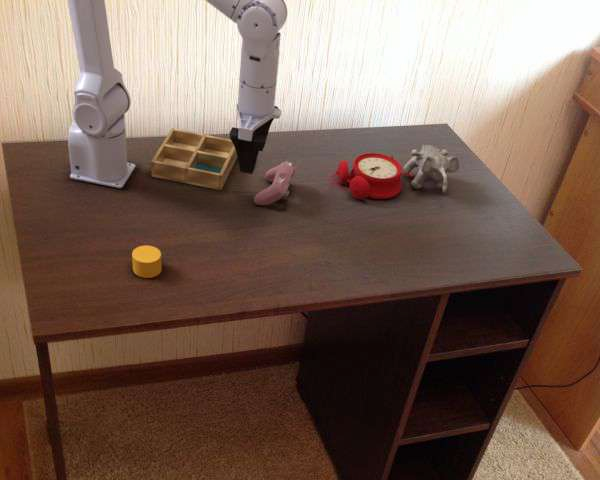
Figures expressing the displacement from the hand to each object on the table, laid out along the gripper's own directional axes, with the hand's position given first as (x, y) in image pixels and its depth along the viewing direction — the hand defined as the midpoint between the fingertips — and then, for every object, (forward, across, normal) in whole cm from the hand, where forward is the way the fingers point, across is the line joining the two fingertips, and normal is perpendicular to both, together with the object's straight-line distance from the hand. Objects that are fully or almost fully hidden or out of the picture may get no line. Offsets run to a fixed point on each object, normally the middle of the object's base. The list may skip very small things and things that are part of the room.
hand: (251, 160), depth 125 cm
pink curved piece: (+10, +7, -4) cm, 13 cm away
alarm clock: (+10, +16, -19) cm, 27 cm away
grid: (+10, +11, +12) cm, 19 cm away
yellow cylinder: (+10, -21, +11) cm, 26 cm away
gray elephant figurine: (+10, +20, -31) cm, 39 cm away
